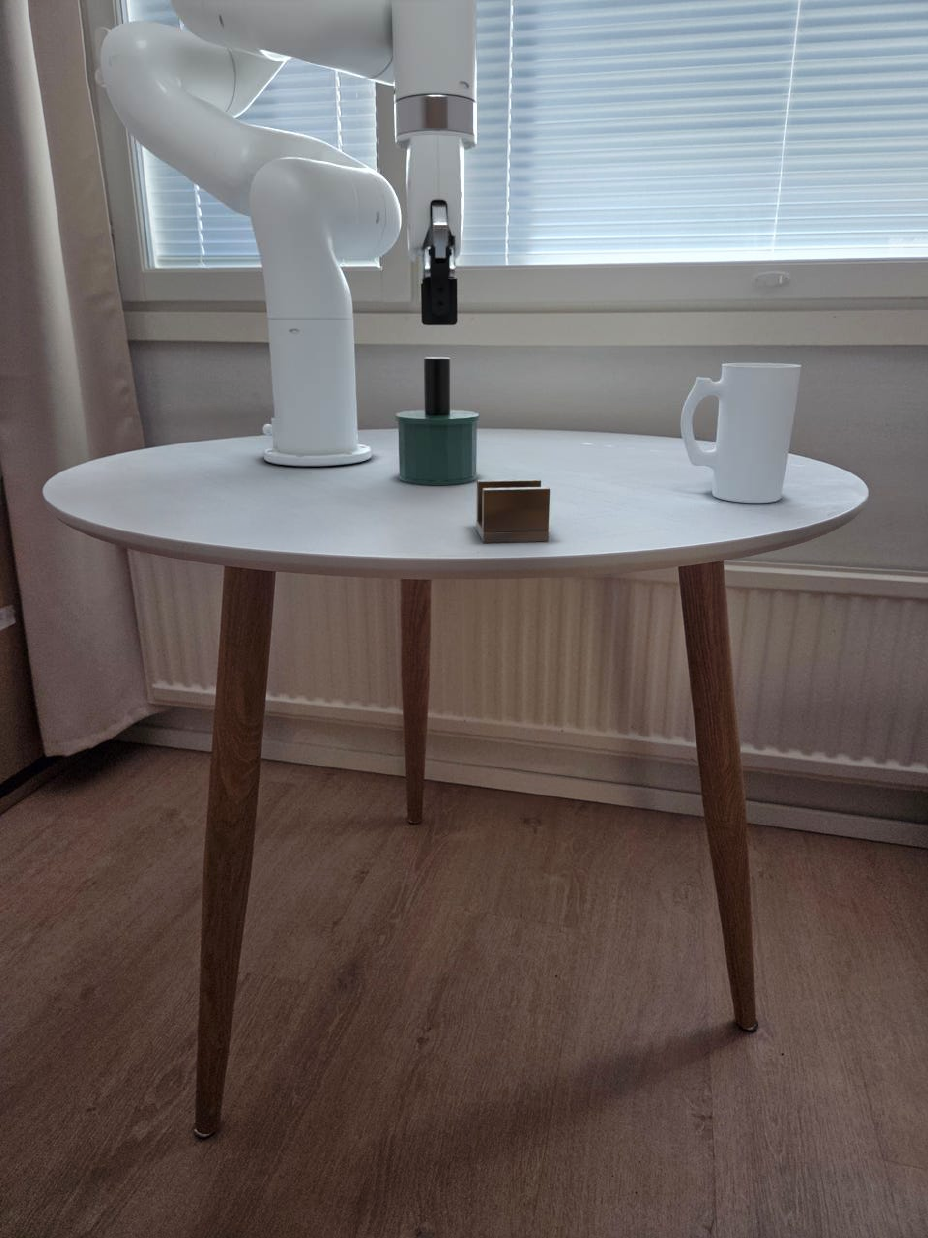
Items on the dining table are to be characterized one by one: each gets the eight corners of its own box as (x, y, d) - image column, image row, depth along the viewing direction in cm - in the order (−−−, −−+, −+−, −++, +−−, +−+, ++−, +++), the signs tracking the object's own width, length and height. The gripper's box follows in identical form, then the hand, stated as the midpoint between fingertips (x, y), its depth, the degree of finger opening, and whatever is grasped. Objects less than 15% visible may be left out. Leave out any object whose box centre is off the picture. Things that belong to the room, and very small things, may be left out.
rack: (483, 543, 63) (484, 490, 62) (476, 529, 67) (476, 479, 66) (548, 541, 64) (550, 488, 62) (537, 527, 68) (539, 478, 67)
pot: (399, 485, 85) (397, 424, 83) (400, 471, 92) (398, 415, 90) (478, 484, 85) (479, 424, 83) (473, 471, 93) (473, 415, 90)
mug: (774, 490, 82) (790, 362, 78) (792, 505, 76) (811, 367, 72) (669, 488, 83) (680, 362, 79) (679, 502, 77) (691, 366, 73)
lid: (395, 431, 82) (393, 359, 80) (396, 421, 90) (394, 355, 88) (482, 430, 83) (483, 359, 81) (476, 420, 91) (476, 355, 89)
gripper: (396, 146, 85) (401, 324, 91) (393, 104, 69) (399, 325, 75) (470, 146, 86) (470, 324, 92) (484, 105, 70) (483, 324, 75)
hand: (438, 324), depth 83 cm, fingers open, 9 cm apart
